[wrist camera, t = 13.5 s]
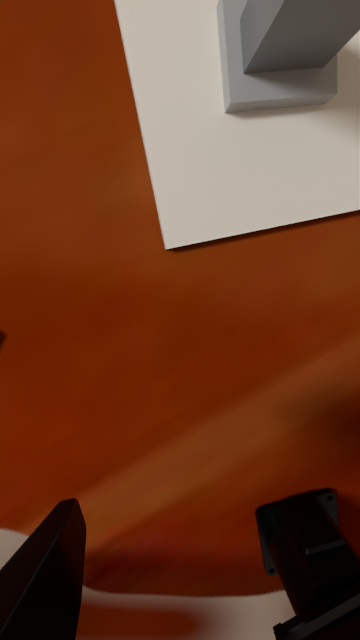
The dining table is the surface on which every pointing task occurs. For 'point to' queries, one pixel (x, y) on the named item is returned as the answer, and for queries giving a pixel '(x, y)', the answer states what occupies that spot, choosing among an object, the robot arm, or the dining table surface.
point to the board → (232, 132)
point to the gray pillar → (282, 50)
